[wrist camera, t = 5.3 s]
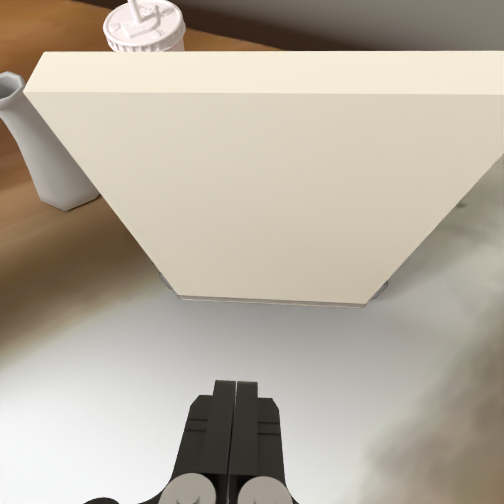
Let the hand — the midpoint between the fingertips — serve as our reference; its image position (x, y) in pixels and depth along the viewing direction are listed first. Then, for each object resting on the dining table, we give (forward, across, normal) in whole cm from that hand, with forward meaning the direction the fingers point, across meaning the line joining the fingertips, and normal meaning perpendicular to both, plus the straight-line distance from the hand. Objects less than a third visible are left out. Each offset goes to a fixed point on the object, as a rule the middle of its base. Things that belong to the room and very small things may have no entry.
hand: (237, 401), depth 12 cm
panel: (+11, +2, 0) cm, 11 cm away
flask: (+22, -17, +6) cm, 29 cm away
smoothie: (+27, -9, +12) cm, 31 cm away
